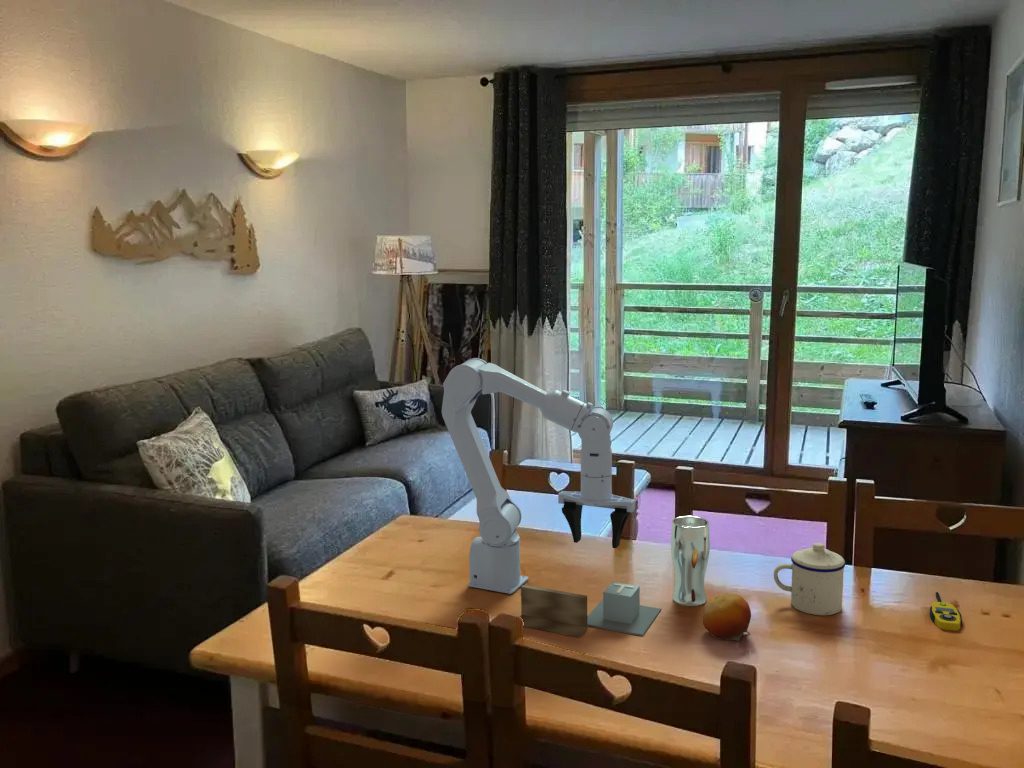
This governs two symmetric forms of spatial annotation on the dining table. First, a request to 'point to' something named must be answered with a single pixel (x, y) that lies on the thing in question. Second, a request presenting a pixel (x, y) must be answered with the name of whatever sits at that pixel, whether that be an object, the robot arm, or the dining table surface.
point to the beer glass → (690, 559)
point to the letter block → (621, 602)
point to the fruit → (727, 616)
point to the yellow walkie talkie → (945, 615)
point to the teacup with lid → (815, 580)
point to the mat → (635, 627)
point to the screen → (554, 610)
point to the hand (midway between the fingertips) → (596, 543)
